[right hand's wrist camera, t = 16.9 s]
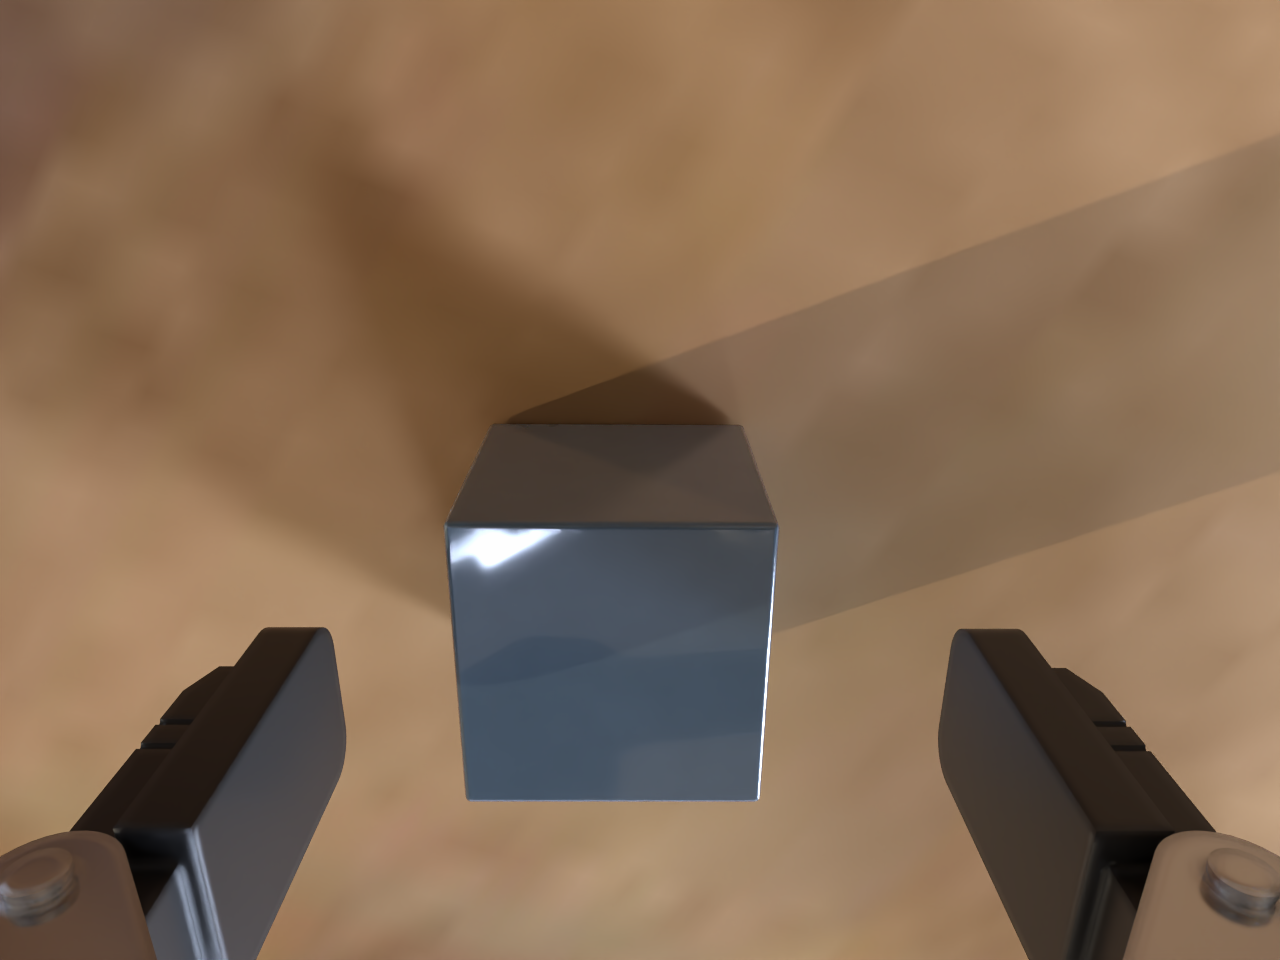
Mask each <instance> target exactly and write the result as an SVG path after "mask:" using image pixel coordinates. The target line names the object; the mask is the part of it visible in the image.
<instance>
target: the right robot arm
mask: <svg viewBox="0 0 1280 960" xmlns="http://www.w3.org/2000/svg"><path fill="white" fill-rule="evenodd" d="M938 747H939V757H940V763H941V768H942V772H943V775H944V778H945V781H946V783H947V785H948V787H949V789H950V792H951V794H952V796H953V798H954V800H955V802H956V804H957V807H958V809H959V811H960V813H961V815H962V817H963V819H964V822H965V824H966V826H967V828H968V830H969V832H970V834H971V837H972V839H973V841H974V843H975V845H976V847H977V849H978V852H979V854H980V856H981V858H982V860H983V862H984V864H985V867H986V869H987V871H988V873H989V875H990V877H991V879H992V882H993V884H994V886H995V888H996V890H997V892H998V895H999V897H1000V899H1001V901H1002V903H1003V905H1004V907H1005V910H1006V912H1007V914H1008V916H1009V918H1010V920H1011V922H1012V925H1013V927H1014V929H1015V931H1016V933H1017V935H1018V937H1019V940H1020V942H1021V944H1022V946H1023V948H1024V950H1025V952H1026V955H1027V957H1028V959H1029V960H1280V857H1279V856H1278V855H1276V854H1274V853H1272V852H1270V851H1268V850H1266V849H1264V848H1263V847H1260V846H1258V845H1256V844H1253V843H1251V842H1249V841H1246V840H1243V839H1240V838H1237V837H1234V836H1230V835H1226V834H1222V833H1217V832H1216V831H1215V830H1214V829H1213V827H1212V826H1211V825H1210V824H1209V822H1208V821H1207V820H1206V819H1205V818H1204V816H1203V815H1202V814H1201V813H1200V811H1199V810H1198V809H1197V808H1196V807H1195V805H1194V804H1193V803H1192V802H1191V800H1190V799H1189V798H1188V797H1187V796H1186V794H1185V793H1184V792H1183V791H1182V789H1181V788H1180V787H1179V786H1178V784H1177V783H1176V782H1175V781H1174V780H1173V778H1172V777H1171V776H1170V775H1169V773H1168V772H1167V771H1166V770H1165V769H1164V767H1163V766H1162V765H1161V764H1160V762H1159V761H1158V760H1157V759H1156V758H1155V756H1154V755H1153V754H1152V753H1151V751H1146V749H1145V744H1144V743H1143V742H1142V740H1141V739H1140V738H1139V737H1138V735H1137V734H1136V733H1135V732H1134V731H1133V729H1132V728H1131V727H1126V721H1125V720H1124V718H1123V717H1122V716H1121V715H1120V713H1119V712H1118V711H1117V710H1116V709H1115V707H1114V706H1113V705H1112V704H1111V702H1110V701H1109V700H1108V699H1107V697H1106V696H1105V695H1104V694H1103V693H1102V692H1101V691H1099V690H1098V689H1096V688H1095V687H1093V686H1092V685H1090V684H1089V683H1087V682H1086V681H1084V680H1083V679H1081V678H1080V677H1078V676H1077V675H1075V674H1074V673H1072V672H1071V671H1069V670H1068V669H1066V668H1051V667H1050V665H1049V664H1048V663H1047V662H1046V660H1045V659H1044V658H1043V656H1042V655H1041V654H1040V652H1039V651H1038V650H1037V648H1036V647H1035V646H1034V644H1033V643H1032V642H1031V640H1030V639H1029V638H1028V636H1027V635H1026V634H1025V633H1024V632H1023V631H1022V630H1020V629H959V630H958V631H957V632H956V633H955V635H954V637H953V640H952V644H951V650H950V657H949V663H948V670H947V677H946V683H945V690H944V697H943V704H942V710H941V717H940V724H939V732H938ZM345 751H346V726H345V719H344V712H343V705H342V698H341V691H340V685H339V678H338V671H337V664H336V657H335V651H334V644H333V640H332V636H331V634H330V632H329V631H328V629H326V628H324V627H267V628H264V629H263V630H261V632H260V633H259V634H258V635H257V636H256V638H255V639H254V640H253V642H252V643H251V644H250V646H249V647H248V648H247V650H246V651H245V652H244V654H243V655H242V656H241V658H240V659H239V660H238V662H237V663H236V664H235V666H219V667H218V668H216V669H215V670H213V671H212V672H210V673H209V674H207V675H206V676H204V677H203V678H201V679H200V680H198V681H197V682H195V683H194V684H192V685H191V686H190V687H188V688H187V689H185V690H184V691H183V692H182V693H181V694H180V695H179V696H178V698H177V699H176V700H175V701H174V703H173V704H172V705H171V706H170V708H169V709H168V710H167V711H166V713H165V714H164V715H163V716H162V718H161V719H160V725H155V726H154V727H153V729H152V730H151V731H150V732H149V734H148V735H147V736H146V737H145V739H144V740H143V741H142V742H141V748H140V749H136V750H135V751H134V752H133V753H132V755H131V756H130V757H129V758H128V760H127V761H126V762H125V763H124V765H123V766H122V767H121V768H120V769H119V771H118V772H117V773H116V774H115V776H114V777H113V778H112V779H111V781H110V782H109V783H108V784H107V786H106V787H105V788H104V789H103V790H102V792H101V793H100V794H99V795H98V797H97V798H96V799H95V800H94V802H93V803H92V804H91V805H90V807H89V808H88V809H87V810H86V811H85V813H84V814H83V815H82V816H81V818H80V819H79V820H78V821H77V823H76V824H75V825H74V826H73V828H72V829H71V830H70V831H69V832H63V833H58V834H54V835H50V836H46V837H43V838H40V839H37V840H34V841H31V842H29V843H27V844H24V845H22V846H20V847H17V848H16V849H14V850H12V851H10V852H8V853H6V854H4V855H2V856H1V857H0V960H256V958H257V956H258V954H259V952H260V950H261V947H262V945H263V943H264V941H265V939H266V936H267V934H268V932H269V930H270V928H271V926H272V923H273V921H274V919H275V917H276V915H277V913H278V910H279V908H280V906H281V904H282V902H283V900H284V897H285V895H286V893H287V891H288V889H289V887H290V884H291V882H292V880H293V878H294V876H295V874H296V871H297V869H298V867H299V865H300V863H301V861H302V858H303V856H304V854H305V852H306V850H307V848H308V845H309V843H310V841H311V839H312V837H313V834H314V832H315V830H316V828H317V826H318V824H319V821H320V819H321V817H322V815H323V813H324V811H325V808H326V806H327V804H328V802H329V800H330V798H331V795H332V793H333V791H334V789H335V787H336V785H337V782H338V780H339V778H340V775H341V772H342V768H343V764H344V759H345Z"/></svg>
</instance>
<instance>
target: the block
mask: <svg viewBox="0 0 1280 960" xmlns="http://www.w3.org/2000/svg"><path fill="white" fill-rule="evenodd" d="M443 527H444V539H445V552H446V564H447V576H448V588H449V600H450V613H451V625H452V637H453V649H454V662H455V674H456V686H457V698H458V710H459V723H460V735H461V747H462V759H463V772H464V784H465V795H466V798H467V800H469V801H729V802H755V801H758V799H759V797H760V789H761V775H762V761H763V747H764V733H765V719H766V705H767V692H768V678H769V664H770V650H771V636H772V622H773V608H774V594H775V580H776V566H777V552H778V539H779V525H778V522H777V520H776V517H775V514H774V511H773V508H772V506H771V503H770V500H769V497H768V495H767V492H766V489H765V486H764V484H763V481H762V478H761V475H760V472H759V470H758V467H757V464H756V461H755V459H754V456H753V453H752V450H751V447H750V445H749V442H748V439H747V436H746V434H745V431H744V428H743V426H740V425H601V424H493V425H490V427H489V429H488V432H487V434H486V436H485V438H484V440H483V442H482V444H481V446H480V449H479V451H478V453H477V455H476V457H475V459H474V461H473V463H472V466H471V468H470V470H469V472H468V474H467V476H466V478H465V480H464V483H463V485H462V487H461V489H460V491H459V493H458V495H457V497H456V500H455V502H454V504H453V506H452V508H451V510H450V512H449V514H448V517H447V519H446V521H445V523H444V526H443Z"/></svg>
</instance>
